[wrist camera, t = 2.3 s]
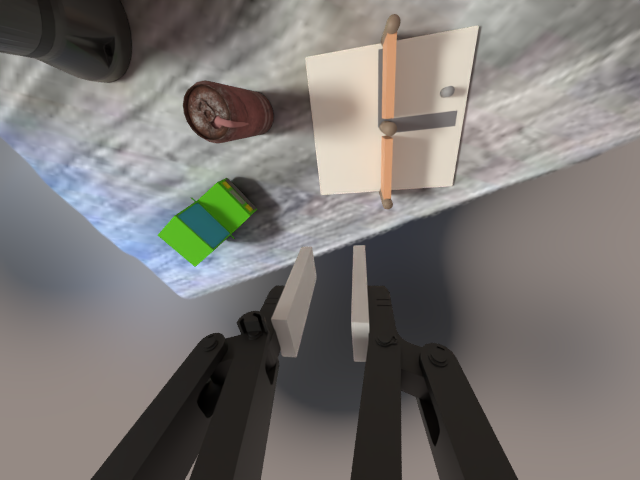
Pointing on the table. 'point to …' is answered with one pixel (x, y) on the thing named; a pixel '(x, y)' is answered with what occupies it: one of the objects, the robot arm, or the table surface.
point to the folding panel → (386, 171)
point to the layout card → (409, 112)
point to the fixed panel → (389, 74)
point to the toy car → (207, 221)
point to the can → (226, 112)
